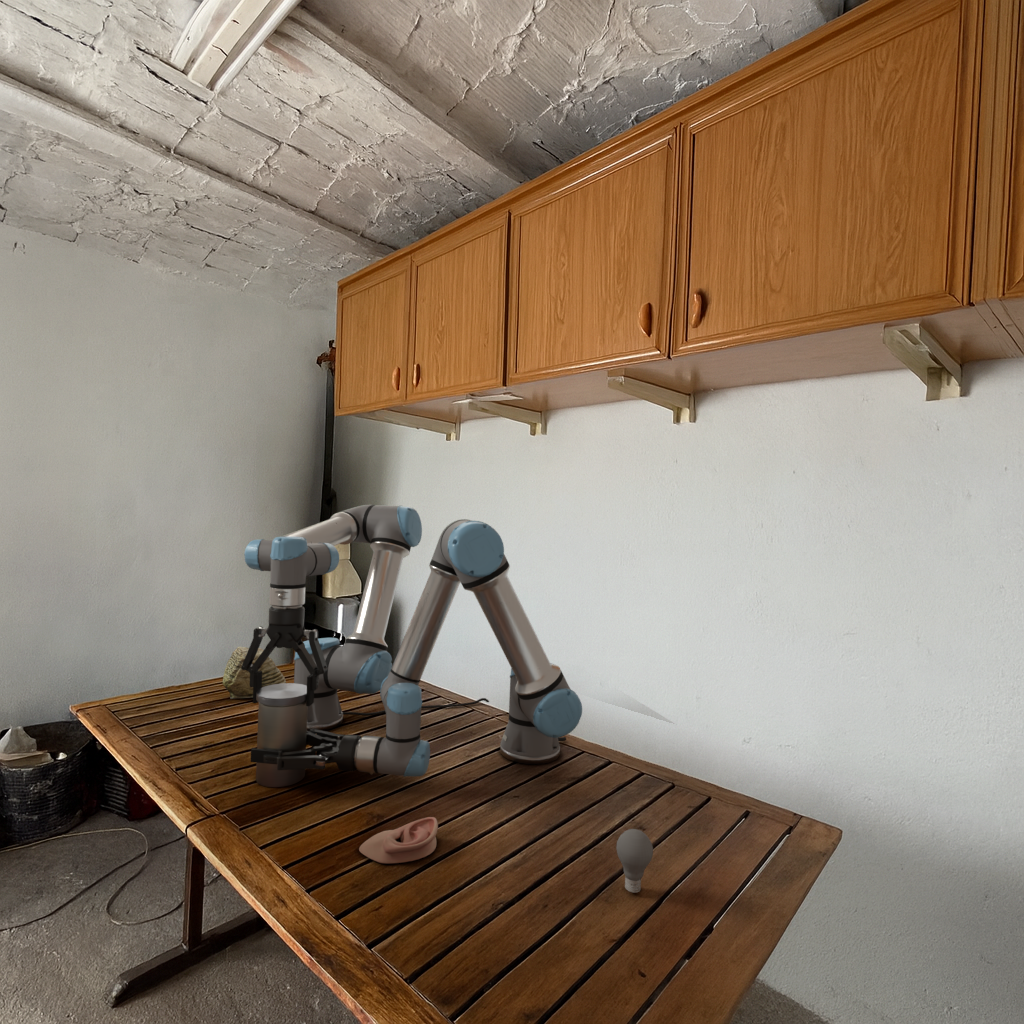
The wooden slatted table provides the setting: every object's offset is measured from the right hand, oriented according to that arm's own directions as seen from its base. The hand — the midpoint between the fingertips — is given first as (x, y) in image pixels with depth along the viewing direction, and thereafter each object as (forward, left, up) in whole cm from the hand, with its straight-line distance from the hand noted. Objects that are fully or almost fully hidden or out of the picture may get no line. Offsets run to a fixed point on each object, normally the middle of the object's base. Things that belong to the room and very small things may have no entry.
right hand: (264, 745), depth 143 cm
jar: (-4, +2, -7) cm, 8 cm away
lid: (-4, +2, +12) cm, 13 cm away
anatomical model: (-25, +37, -7) cm, 45 cm away
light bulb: (-60, +60, -7) cm, 85 cm away
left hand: (-4, +2, +10) cm, 11 cm away
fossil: (+5, -60, -7) cm, 61 cm away
